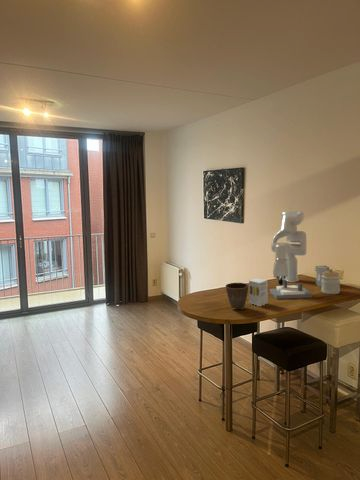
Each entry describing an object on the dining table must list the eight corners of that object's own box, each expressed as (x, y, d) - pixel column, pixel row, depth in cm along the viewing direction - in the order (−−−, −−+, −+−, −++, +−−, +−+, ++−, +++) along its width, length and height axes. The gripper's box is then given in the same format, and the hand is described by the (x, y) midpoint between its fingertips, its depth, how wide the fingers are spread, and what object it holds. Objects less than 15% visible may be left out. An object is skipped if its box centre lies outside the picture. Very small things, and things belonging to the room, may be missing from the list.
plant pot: (233, 313, 230) (233, 289, 228) (222, 307, 244) (221, 284, 242) (253, 309, 236) (252, 286, 234) (240, 303, 250) (240, 281, 247)
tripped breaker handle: (283, 286, 272) (283, 279, 272) (285, 285, 272) (285, 279, 272) (284, 287, 268) (284, 280, 268) (287, 287, 268) (287, 280, 268)
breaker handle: (297, 289, 263) (297, 282, 262) (300, 289, 263) (300, 282, 262) (299, 290, 259) (299, 283, 258) (302, 290, 259) (302, 283, 258)
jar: (323, 288, 277) (323, 266, 275) (341, 290, 270) (342, 268, 268) (319, 293, 267) (319, 269, 265) (337, 295, 259) (338, 271, 257)
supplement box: (248, 304, 249) (248, 280, 246) (256, 300, 255) (256, 277, 252) (260, 307, 241) (259, 282, 239) (268, 303, 247) (268, 280, 245)
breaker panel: (269, 292, 275) (269, 286, 274) (303, 290, 275) (303, 284, 275) (276, 298, 257) (276, 292, 256) (312, 297, 257) (312, 290, 257)
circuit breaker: (336, 285, 284) (337, 267, 282) (318, 286, 285) (318, 267, 283) (333, 283, 292) (333, 265, 290) (315, 283, 292) (315, 265, 290)
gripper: (289, 259, 271) (289, 283, 274) (269, 260, 271) (269, 283, 274) (292, 261, 264) (292, 285, 266) (271, 262, 264) (272, 286, 266)
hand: (280, 284), depth 270 cm, fingers closed
